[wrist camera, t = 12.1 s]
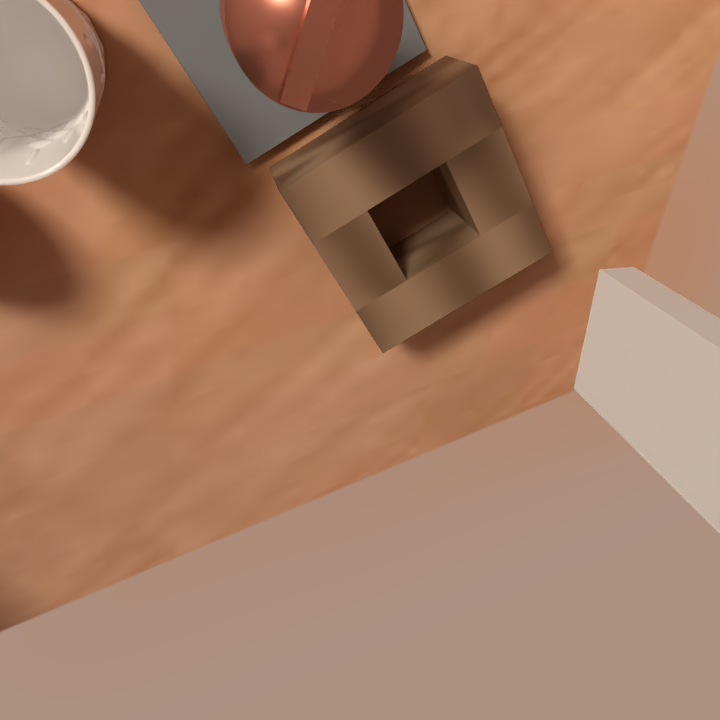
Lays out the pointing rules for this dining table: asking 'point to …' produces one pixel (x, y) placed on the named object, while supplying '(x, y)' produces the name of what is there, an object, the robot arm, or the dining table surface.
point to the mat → (240, 74)
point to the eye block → (396, 171)
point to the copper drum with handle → (313, 48)
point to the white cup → (46, 86)
